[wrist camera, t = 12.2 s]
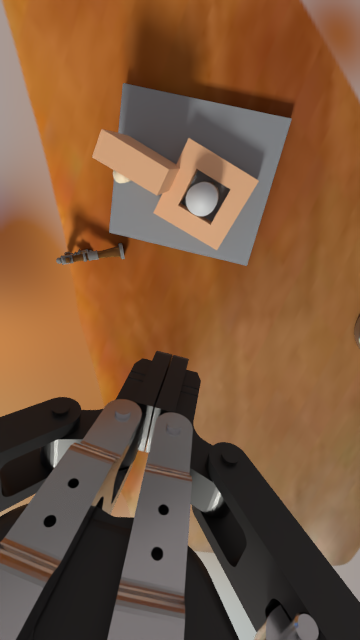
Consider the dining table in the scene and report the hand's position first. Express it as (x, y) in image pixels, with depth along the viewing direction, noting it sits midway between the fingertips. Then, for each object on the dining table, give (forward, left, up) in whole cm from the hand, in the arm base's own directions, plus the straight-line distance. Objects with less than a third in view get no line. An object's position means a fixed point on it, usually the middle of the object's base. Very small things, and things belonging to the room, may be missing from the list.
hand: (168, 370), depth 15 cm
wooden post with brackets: (+14, +5, -27) cm, 31 cm away
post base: (+4, -6, -27) cm, 28 cm away
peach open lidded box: (+5, -6, -25) cm, 27 cm away
